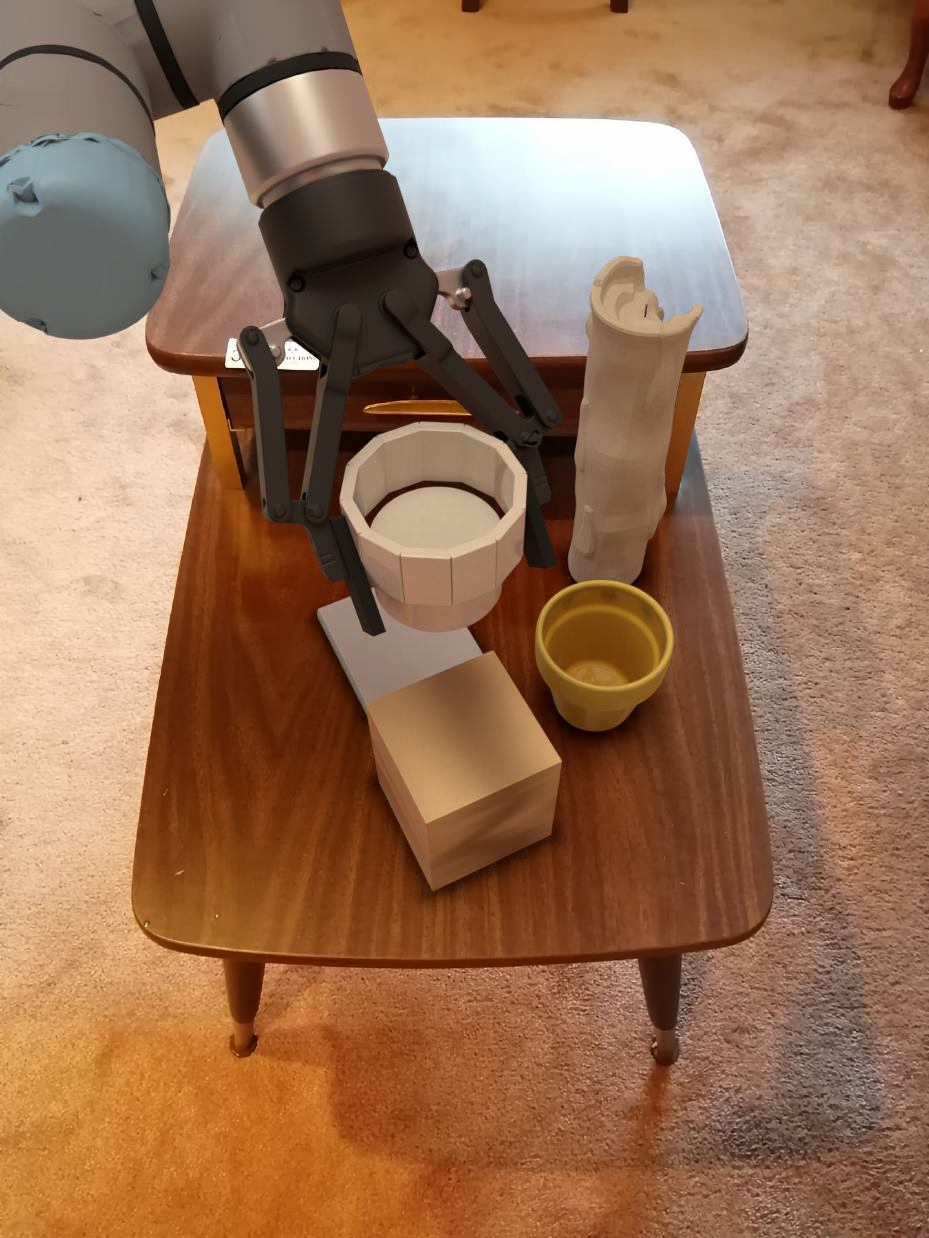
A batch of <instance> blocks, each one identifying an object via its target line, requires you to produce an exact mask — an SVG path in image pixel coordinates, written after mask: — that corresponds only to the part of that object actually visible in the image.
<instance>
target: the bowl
mask: <svg viewBox="0 0 929 1238" xmlns="http://www.w3.org/2000/svg"><path fill="white" fill-rule="evenodd" d="M342 478H343V479H342V484H341V489H340V494H339V507H340V513H341V516H345V517H346V520H347V523H348V526H349V529H350V531H351V534H352V537H353V540H354V543H355V545H356V548H357V551H358V554H359V557H360V560H361V562H362V565H363V567H364V570H365V573H366V576H367V579H368V581H369V584H370V587H372V588H373V587H374V589H375V593H376V597H377V599H378V601H379V603H380V604H381V606H382V608H383V609H384V610H385V611H386V612H387V613H388V614H389V615H390V616H391V617H392V618H393V619H395V620H396V621H398V622H399V623H401V624H403V625H405V626H407V627H410V628H413V629H416V630H420V631H425V632H449V631H454V630H459V629H462V628H465V627H467V628H468V627H470V626H471V625H474V624H476V623H477V622H479V621H480V620H481V619H483V618H485V616H487V615H488V614H489V613H490V612H491V611H492V609H493V608H494V607H495V606H496V604H497V603H498V600H499V598H500V596H501V594H502V590H503V584H504V581H505V580H506V579H507V577H508V576H509V575H510V574H511V573H512V571H513V570H514V569H515V568H516V566H518V564H519V563H520V562H521V560H522V559H523V556H524V551H523V544H524V529H525V513H526V494H527V474H526V471H525V470H524V468H523V467H522V465H521V464H520V463H519V461H518V460H517V458H516V457H515V456H514V454H513V453H512V452H511V450H510V449H509V447H508V446H507V445H506V443H504V442H503V441H501V440H499V439H497V438H495V437H493V436H492V435H491V434H488V433H487V432H484V431H482V430H480V429H477V428H475V427H473V426H472V425H469V424H465V423H461V422H441V421H440V422H439V421H438V422H437V421H415V422H413V423H409V424H407V425H404V426H401V427H398V428H395V429H392V430H388V431H386V432H383V433H379V434H377V435H376V436H374V437H373V438H372V439H371V440H370V441H368V443H367V444H365V446H363V447H362V448H361V449H360V451H358V452H357V453H356V454H355V455H354V456H353V457H352V458H350V460H349V461H348V462H347V463H346V465H345V469H344V472H343V477H342ZM423 481H425V482H426V481H429V482H448V483H449V482H450V483H463V484H465V485H467V486H469V487H471V488H473V489H475V490H477V491H479V492H481V493H483V494H485V495H487V496H490V497H491V498H493V499H494V500H495V502H496V503H497V504H498V506H499V507H500V508H501V510H502V512H503V513H504V514H505V515H503V517H501V518H500V517H499V515H498V513H497V512H496V510H494V508H493V507H492V506H491V505H489V504H488V503H487V502H486V501H485V500H483V498H481V497H479V496H477V495H475V494H474V493H471V492H469V491H466V490H463V489H461V488H454V487H448V486H428V487H420V488H416V489H413V490H410V491H407V492H405V493H402V494H400V495H398V496H396V497H395V498H393V499H391V500H390V501H389V502H387V503H386V504H385V505H384V506H383V507H382V508H381V509H380V510H379V511H378V513H377V514H376V515H375V517H374V518H373V520H372V523H371V525H370V526H369V525H368V523H367V521H366V516H367V515H368V514H370V513H371V511H372V510H373V509H374V508H375V507H376V506H378V504H379V503H380V502H381V501H382V500H383V499H384V498H385V497H386V496H387V495H388V494H390V493H392V492H396V491H398V490H401V489H404V488H407V487H409V486H412V485H415V484H418V483H420V482H423Z"/></svg>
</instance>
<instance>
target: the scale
mask: <svg viewBox="0 0 929 1238" xmlns="http://www.w3.org/2000/svg"><path fill="white" fill-rule="evenodd" d="M371 590H372V593H373V596H374V598H375V601H376V604H377V607H378V610H379V612H380V615H381V618H382V621H383V624H384V627H385V629H386V632H384V633H382V634H379V635H377V636H374V637H373V636H371V635H369V634H367V633H365V632H364V631H363V630H362V627H361V624H360V622H359V619H358V616H357V613H356V611H355V608H354V605H353V602H352V599H351V597H350V596H348V597H345V598H342V599H339V600H337V601H334V602H332V603H329V604H327V605H324V606H322V607H319V608H318V609H317V612H316V615H317V620H318V621H319V624H320V626H321V628H322V629H323V631H324V634H325V635H326V638H327V639H328V642H329V644H330V645H331V647H332V649H333V651H334V653H335V655H336V657H337V659H338V661H339V663H340V665H341V667H342V669H343V671H344V673H345V675H346V677H347V679H348V681H349V683H350V685H351V687H352V689H353V691H354V693H355V695H356V697H357V699H358V701H359V703H360V705H361V708H362V709H363V711H364V713H365V715H366V716H367V712H366V706H365V704H366V703H368V702H370V701H373V700H375V699H377V698H380V697H382V696H385V695H387V694H389V693H392V692H394V691H396V690H399V689H401V688H404V687H406V686H408V685H411V684H413V683H416V682H418V681H420V680H423V679H425V678H428V677H430V676H432V675H435V674H437V673H440V672H442V671H444V670H447V669H449V668H451V667H454V666H456V665H459V664H461V663H463V662H466V661H468V660H471V659H473V658H475V657H478V656H480V655H483V654H484V653H483V651H482V650H481V647H479V645H478V643H477V641H476V639H475V638H474V636H473V635H472V633H471V632H470V630H469V628H468V626H467V627H465V628H462V629H459V630H454V631H449V632H425V631H420V630H416V629H413V628H410V627H407V626H405V625H403V624H401V623H399V622H398V621H396V620H395V619H393V618H392V617H391V616H390V615H389V614H388V613H387V612H386V611H385V610H384V609H383V608H382V606H381V604H380V603H379V601H378V599H377V597H376V593H375V589H374V587H373V586H372V587H371Z"/></svg>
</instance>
